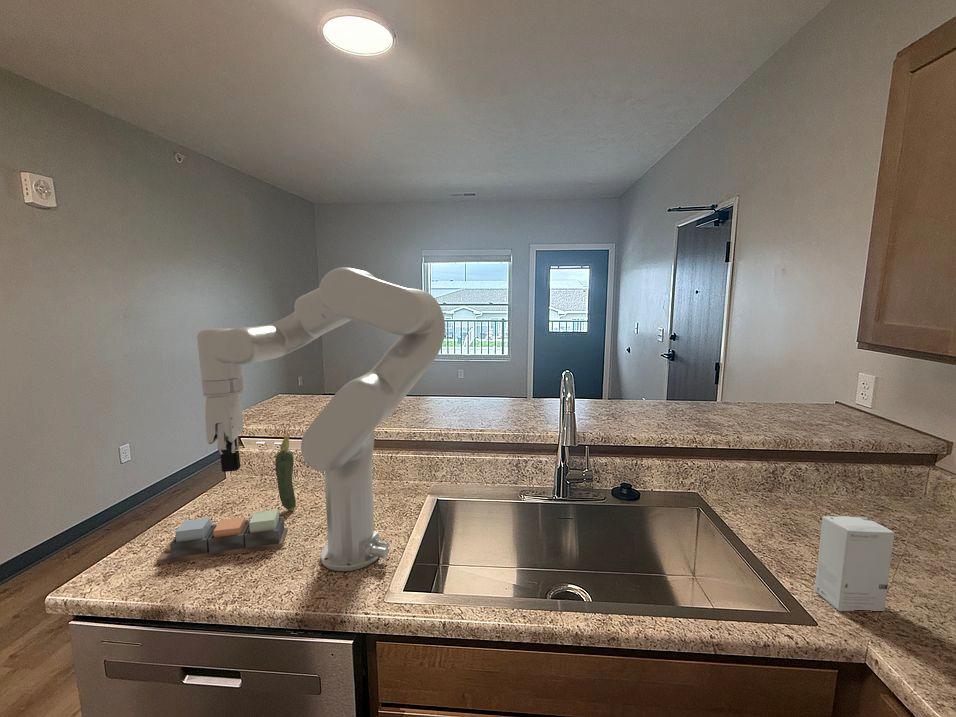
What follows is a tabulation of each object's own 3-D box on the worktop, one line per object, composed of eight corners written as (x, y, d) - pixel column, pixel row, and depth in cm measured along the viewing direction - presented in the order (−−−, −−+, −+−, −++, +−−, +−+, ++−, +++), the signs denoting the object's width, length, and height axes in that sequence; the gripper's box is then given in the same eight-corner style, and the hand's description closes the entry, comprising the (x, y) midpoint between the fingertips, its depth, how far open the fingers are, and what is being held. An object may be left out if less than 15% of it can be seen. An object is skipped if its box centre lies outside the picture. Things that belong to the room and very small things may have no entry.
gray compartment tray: (287, 531, 102) (286, 515, 101) (282, 547, 95) (281, 530, 95) (170, 546, 96) (169, 529, 95) (156, 564, 89) (154, 546, 89)
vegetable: (283, 516, 110) (279, 439, 107) (274, 511, 112) (270, 436, 110) (300, 509, 113) (295, 435, 111) (291, 505, 116) (286, 432, 113)
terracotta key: (246, 533, 99) (245, 516, 98) (240, 545, 94) (239, 527, 93) (222, 536, 98) (220, 519, 97) (214, 548, 93) (213, 530, 92)
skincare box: (838, 612, 75) (847, 531, 73) (812, 589, 81) (819, 514, 79) (887, 613, 75) (897, 531, 73) (857, 590, 81) (866, 514, 79)
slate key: (211, 534, 97) (210, 517, 96) (203, 546, 92) (202, 528, 92) (186, 537, 96) (184, 520, 95) (177, 549, 91) (175, 531, 90)
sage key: (279, 525, 100) (278, 509, 100) (275, 536, 96) (274, 519, 95) (255, 528, 99) (254, 512, 99) (250, 540, 94) (249, 522, 94)
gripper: (214, 382, 98) (222, 460, 100) (189, 394, 84) (199, 485, 86) (251, 379, 100) (258, 456, 102) (233, 391, 86) (241, 480, 88)
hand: (231, 469), depth 94 cm, fingers closed
